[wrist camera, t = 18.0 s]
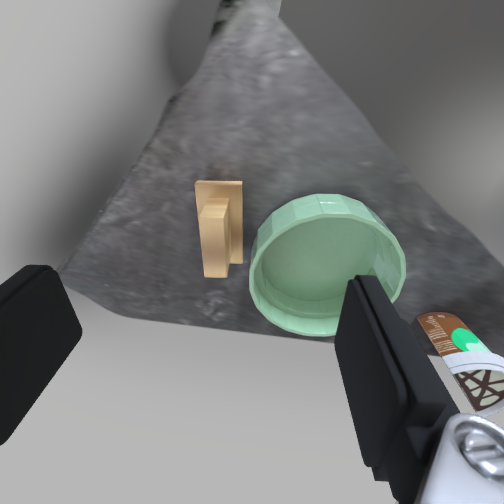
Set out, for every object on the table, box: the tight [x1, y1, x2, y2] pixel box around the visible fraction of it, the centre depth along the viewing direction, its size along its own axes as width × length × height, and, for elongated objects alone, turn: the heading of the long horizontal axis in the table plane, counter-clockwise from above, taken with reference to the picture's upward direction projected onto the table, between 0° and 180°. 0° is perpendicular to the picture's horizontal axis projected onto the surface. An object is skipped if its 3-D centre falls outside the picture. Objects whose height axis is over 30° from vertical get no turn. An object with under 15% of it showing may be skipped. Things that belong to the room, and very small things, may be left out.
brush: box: [194, 181, 243, 278], centre depth 31 cm, size 10×5×8 cm, turn 0°
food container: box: [417, 312, 504, 418], centre depth 38 cm, size 12×6×10 cm, turn 37°
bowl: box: [249, 194, 406, 337], centre depth 34 cm, size 17×17×6 cm
